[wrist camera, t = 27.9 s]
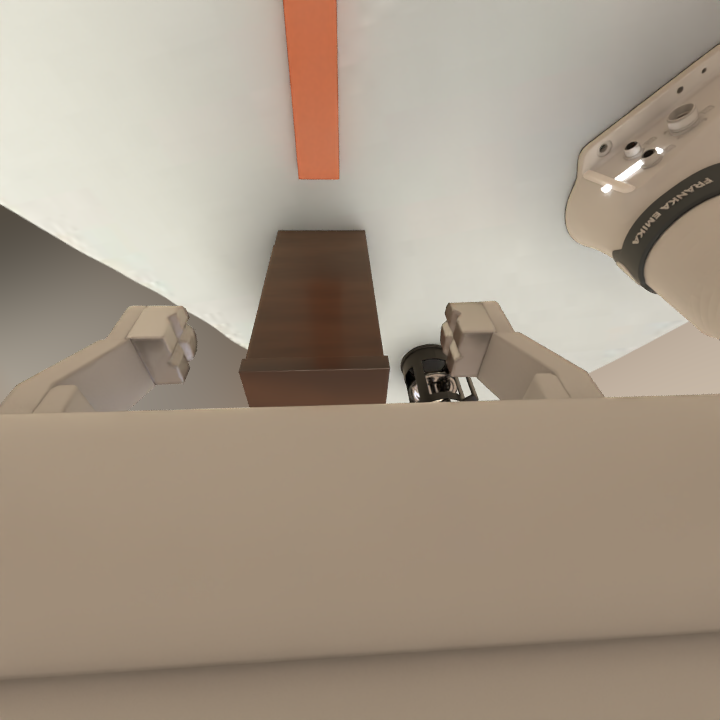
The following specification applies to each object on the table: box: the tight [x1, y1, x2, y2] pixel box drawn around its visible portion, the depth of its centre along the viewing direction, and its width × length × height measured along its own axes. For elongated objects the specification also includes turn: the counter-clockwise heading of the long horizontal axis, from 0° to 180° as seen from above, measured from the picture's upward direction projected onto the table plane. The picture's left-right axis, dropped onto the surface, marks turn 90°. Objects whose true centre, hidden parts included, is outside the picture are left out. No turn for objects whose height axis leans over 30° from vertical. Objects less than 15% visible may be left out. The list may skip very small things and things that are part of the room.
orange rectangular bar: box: [283, 0, 339, 179], centre depth 33 cm, size 25×4×3 cm, turn 179°
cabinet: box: [239, 230, 390, 407], centre depth 43 cm, size 15×13×26 cm
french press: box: [401, 344, 478, 403], centre depth 58 cm, size 12×9×23 cm
